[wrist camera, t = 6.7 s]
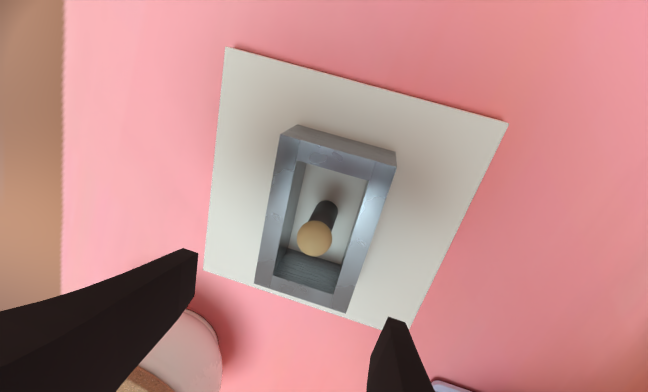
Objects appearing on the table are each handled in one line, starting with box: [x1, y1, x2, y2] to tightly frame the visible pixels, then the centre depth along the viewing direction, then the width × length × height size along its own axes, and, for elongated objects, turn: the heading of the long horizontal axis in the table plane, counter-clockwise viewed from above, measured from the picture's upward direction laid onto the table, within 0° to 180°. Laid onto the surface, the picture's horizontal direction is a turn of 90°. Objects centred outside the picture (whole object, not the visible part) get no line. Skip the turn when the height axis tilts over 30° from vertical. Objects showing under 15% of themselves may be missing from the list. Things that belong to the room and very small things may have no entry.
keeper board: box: [203, 47, 509, 330], centre depth 17 cm, size 15×15×5 cm
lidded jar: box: [116, 309, 223, 392], centre depth 23 cm, size 11×11×9 cm
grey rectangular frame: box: [254, 124, 397, 314], centre depth 17 cm, size 9×6×3 cm, turn 167°
